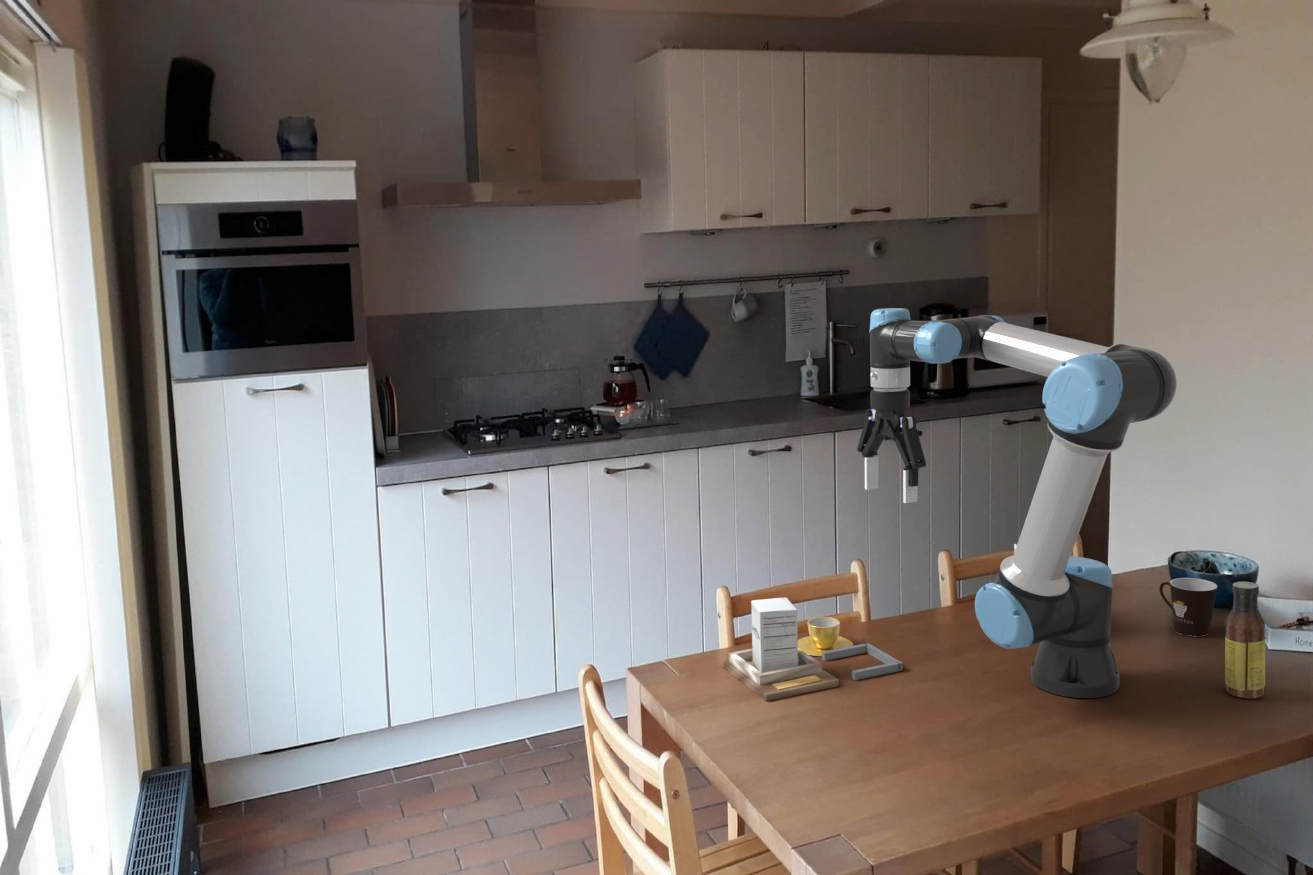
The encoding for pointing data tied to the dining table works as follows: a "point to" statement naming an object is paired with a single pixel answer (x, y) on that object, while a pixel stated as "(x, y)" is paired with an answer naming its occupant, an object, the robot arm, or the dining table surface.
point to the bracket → (890, 662)
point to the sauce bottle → (1245, 644)
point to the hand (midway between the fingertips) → (890, 495)
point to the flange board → (780, 676)
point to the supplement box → (774, 634)
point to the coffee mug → (1191, 604)
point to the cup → (822, 636)
